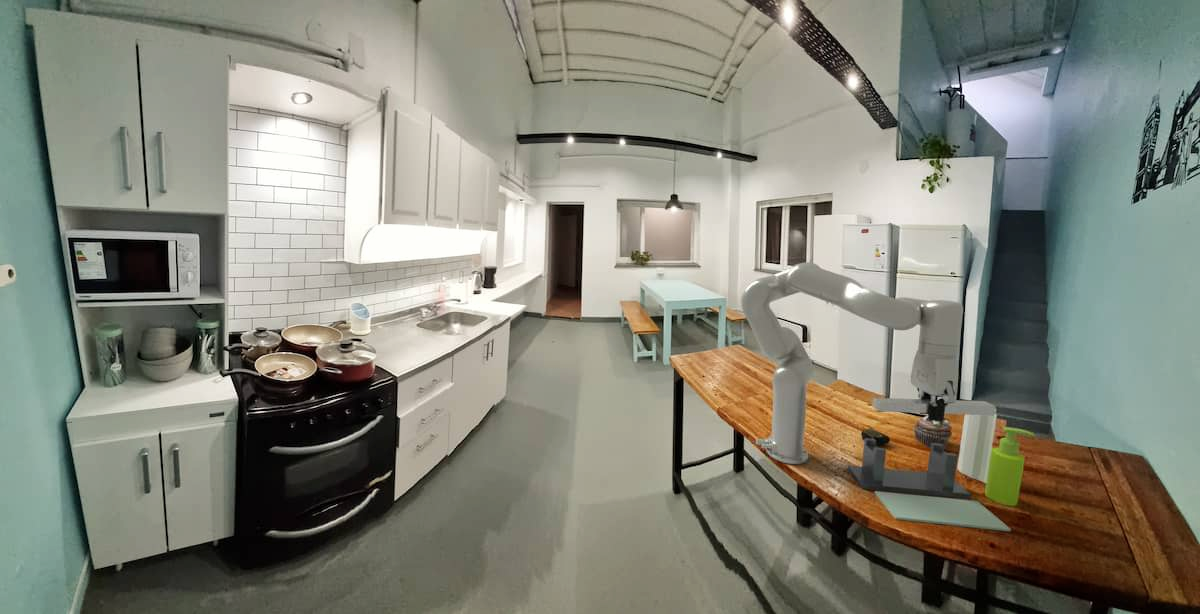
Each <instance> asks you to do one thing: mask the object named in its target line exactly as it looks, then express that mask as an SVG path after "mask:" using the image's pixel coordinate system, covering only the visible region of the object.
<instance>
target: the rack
mask: <svg viewBox="0 0 1200 614" xmlns="http://www.w3.org/2000/svg"><path fill="white" fill-rule="evenodd" d="M929 449H930V450H929V456H928V457H929V458H928V464H927V471H920V470H919V471H916V470H906V469H905V470H904V469H892V468H891V469H890V468H885V466H886V465H885V464H886V456H887V455H886V454H887V449H885V448H883V447H879V446H876V440H875V439H870V438H865V439H864V440H863V449H862V450H863V451H862V452H863V453H862V459H861V460H862V461H861V466H859V465H858V466H857V465H847V469H846V470H847V471H848V473H849V474H850V476H851V477H852V478H853V480H854V481H855V483H857V485H858V486H859V487H860V488H861V490H862V489H863V490H871V491H872V490H873V491H880V492H890V493H900V494H911V495H921V496H932V497H942V498H953V499H963V500H971V496H972V493H970V492H969V491H968V490H967V489H965V488H964V487H963V486H962V485H961V484H960V483H959V482H957V481H956V479H955V478H956V473H957V472H956V471H957V467H958V460H959V455H957V454H956V453H955V452H954V453H953V452H946V451H944V449H945V448H944V445H942V444H940V443H931V447H929ZM913 493H914V494H913Z"/></svg>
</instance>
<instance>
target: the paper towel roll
mask: <svg viewBox="0 0 1200 614" xmlns="http://www.w3.org/2000/svg"><path fill="white" fill-rule="evenodd" d="M997 416H998V414H997V408H995V414H994V416H992V415H965V414H964V419H963V425H962V433H961V439H960V447H959V453H958V459H957V466H956V469H957V470H958V472H959V473H961V474H963V475H965V476H966V477H968V478H971V479H974V480H977V481H980V482H981V483H984V484H986V483H987V476H988V470H989V463H990V457H991V450H992V448H993V443H994V439H995V431H996V424H997Z"/></svg>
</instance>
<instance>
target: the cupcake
mask: <svg viewBox="0 0 1200 614" xmlns="http://www.w3.org/2000/svg"><path fill="white" fill-rule="evenodd" d="M913 430H914V438H915V441H916V442H917V443H918V442H919V443H921V444H923V445H922V446H924V445H925V446H924V447H927V448H930V447H931V443H940V444H942V445H944V449H946V448H947V445H948V443H949V440H950V439H951V437H952V434H953V433H952V426H951V425H950V421H949V419H948V418H946V417H944V420H943V421H932V420H929V419H928V415H926V416H924V417H922V418H920V419H919V420H917V423H915V424H914V425H913ZM919 443H918V444H919ZM921 444H920V445H921Z"/></svg>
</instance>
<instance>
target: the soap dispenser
mask: <svg viewBox="0 0 1200 614" xmlns="http://www.w3.org/2000/svg"><path fill="white" fill-rule="evenodd" d="M1002 430H1003V431H1004V432H1005V437H1001V438H1000V440H999V446H998V447H992V450H991V457H990V463H989V470H988V476H987V483H985V489H984V490H985V491H984V495H985V496H986V497H987V498H988V499H990V500H991V501H993V502H995V503H998V504H1000V505H1004V506H1008V507H1009V506H1011V507H1014V506H1017V505H1018V502H1019V496H1020V490H1021V489H1020V488H1021V483H1022V477H1023V471H1024V465H1025V460H1026V458H1025V456H1024V455H1023V454H1021V453H1019V449H1020V442H1019V441H1017V440H1016V437H1017V434H1019V435H1025V436H1029V437H1031V438H1035V437H1036V435H1035V434H1034V433H1033V432H1031V431H1028V430H1026V429H1021V428H1017V427H1006V426H1002Z"/></svg>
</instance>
